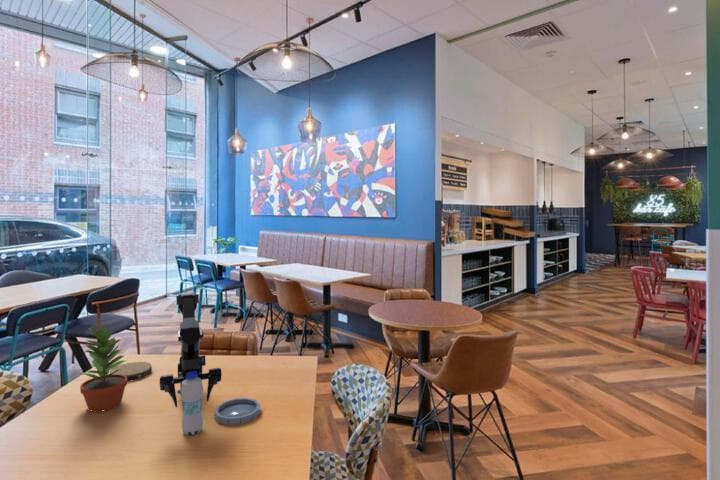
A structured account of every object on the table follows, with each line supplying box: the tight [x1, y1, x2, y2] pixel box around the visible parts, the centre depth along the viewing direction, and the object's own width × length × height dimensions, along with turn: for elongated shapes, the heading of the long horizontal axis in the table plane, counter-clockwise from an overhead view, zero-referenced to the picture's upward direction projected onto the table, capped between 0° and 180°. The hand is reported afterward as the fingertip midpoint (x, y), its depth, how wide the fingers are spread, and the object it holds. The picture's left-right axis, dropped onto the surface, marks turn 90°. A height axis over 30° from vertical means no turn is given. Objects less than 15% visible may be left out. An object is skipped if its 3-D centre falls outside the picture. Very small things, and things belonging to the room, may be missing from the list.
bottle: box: [180, 370, 204, 436], centre depth 128 cm, size 7×7×20 cm
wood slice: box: [109, 361, 153, 382], centre depth 175 cm, size 16×16×3 cm
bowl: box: [214, 397, 261, 426], centre depth 140 cm, size 15×15×2 cm
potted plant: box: [79, 325, 128, 411], centre depth 145 cm, size 15×15×30 cm
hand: (192, 404), depth 127 cm, fingers open, 9 cm apart
